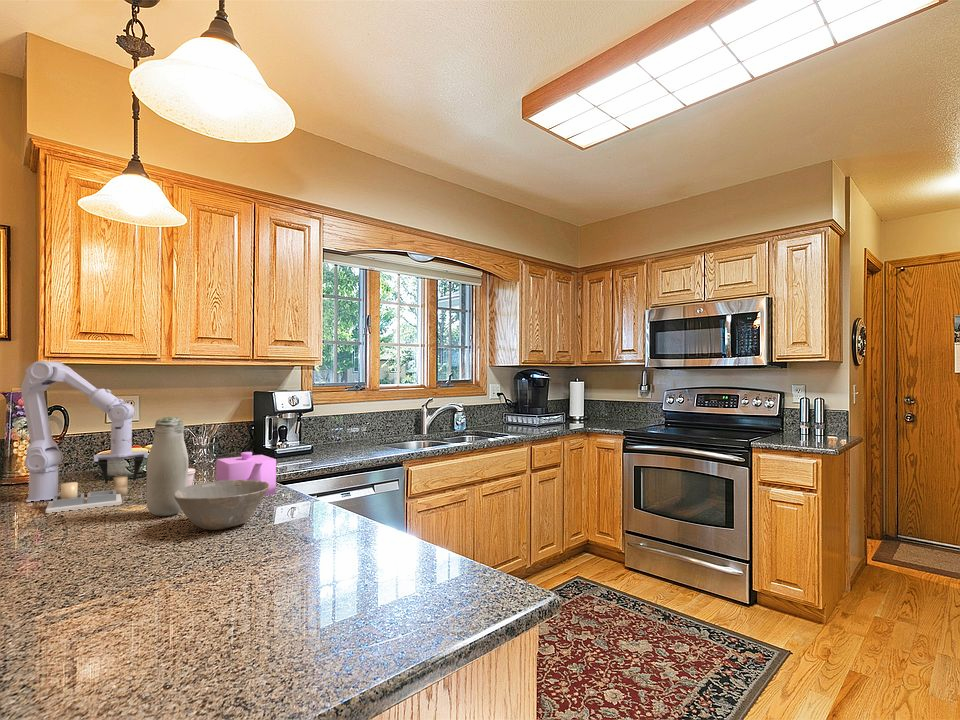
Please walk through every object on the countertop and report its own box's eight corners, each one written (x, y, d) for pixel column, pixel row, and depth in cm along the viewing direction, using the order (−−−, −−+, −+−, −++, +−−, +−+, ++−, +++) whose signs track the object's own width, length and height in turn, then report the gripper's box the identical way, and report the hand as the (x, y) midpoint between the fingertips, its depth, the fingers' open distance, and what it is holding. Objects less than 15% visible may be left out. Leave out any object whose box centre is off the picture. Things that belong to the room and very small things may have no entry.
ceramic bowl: (154, 530, 134) (155, 491, 134) (233, 510, 154) (234, 476, 155) (209, 544, 124) (210, 502, 124) (286, 520, 144) (286, 484, 144)
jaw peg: (112, 494, 172) (113, 476, 172) (127, 493, 175) (127, 475, 175) (112, 497, 169) (113, 478, 169) (127, 495, 171) (128, 477, 171)
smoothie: (187, 503, 162) (188, 458, 162) (167, 503, 162) (168, 458, 162) (199, 498, 168) (200, 455, 169) (179, 498, 168) (180, 454, 169)
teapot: (235, 505, 160) (236, 459, 160) (211, 491, 178) (212, 450, 179) (284, 497, 170) (284, 454, 171) (256, 485, 189) (257, 446, 189)
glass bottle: (141, 521, 142) (143, 418, 143) (153, 511, 152) (155, 415, 153) (181, 518, 145) (183, 418, 146) (190, 509, 155) (192, 415, 156)
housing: (48, 505, 159) (49, 482, 159) (120, 496, 169) (120, 475, 169) (45, 513, 149) (46, 489, 149) (121, 504, 160) (122, 481, 160)
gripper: (94, 443, 165) (93, 486, 164) (148, 439, 173) (147, 480, 173) (94, 440, 170) (93, 482, 170) (146, 437, 179) (146, 477, 179)
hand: (120, 481), depth 172 cm, fingers open, 7 cm apart
